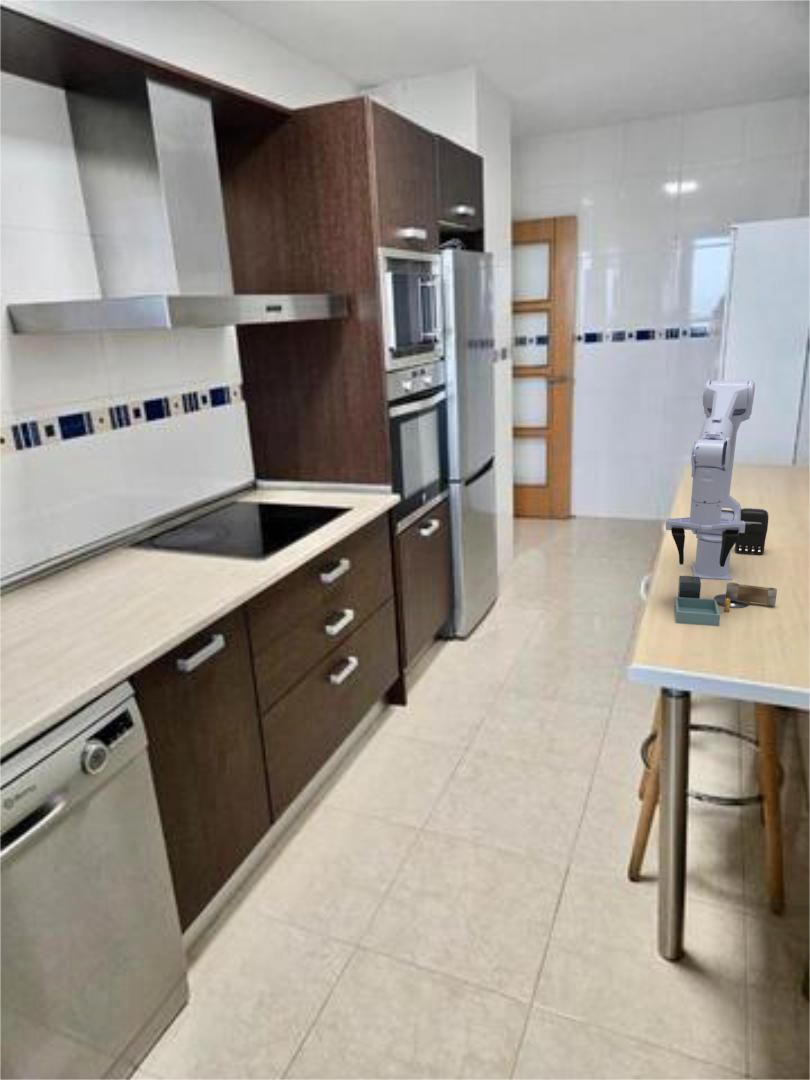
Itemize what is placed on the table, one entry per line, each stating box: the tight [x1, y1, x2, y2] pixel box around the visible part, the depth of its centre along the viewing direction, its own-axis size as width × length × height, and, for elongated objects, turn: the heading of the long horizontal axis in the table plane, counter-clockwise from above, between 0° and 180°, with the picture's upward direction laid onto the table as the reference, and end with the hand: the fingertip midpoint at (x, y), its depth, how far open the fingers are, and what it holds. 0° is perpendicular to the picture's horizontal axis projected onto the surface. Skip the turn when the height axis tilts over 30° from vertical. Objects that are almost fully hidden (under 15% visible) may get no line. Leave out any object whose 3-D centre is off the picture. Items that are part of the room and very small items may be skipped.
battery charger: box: [734, 507, 769, 556], centre depth 172 cm, size 7×4×11 cm, turn 67°
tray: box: [674, 596, 721, 627], centre depth 140 cm, size 8×8×2 cm
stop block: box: [677, 575, 702, 599], centre depth 147 cm, size 4×4×5 cm
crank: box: [725, 582, 778, 606], centre depth 144 cm, size 9×2×3 cm, turn 62°
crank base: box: [713, 593, 751, 614], centre depth 145 cm, size 10×7×3 cm
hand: (701, 564), depth 142 cm, fingers open, 7 cm apart
